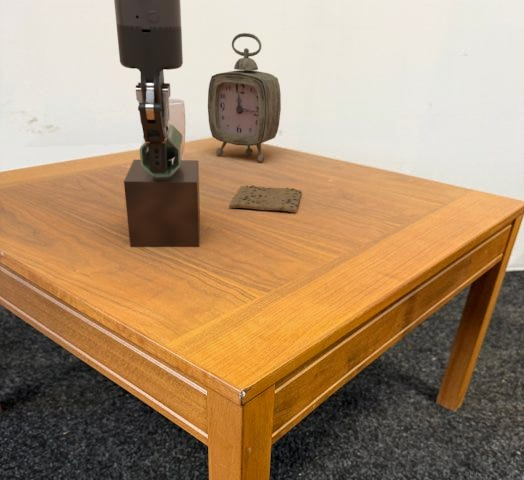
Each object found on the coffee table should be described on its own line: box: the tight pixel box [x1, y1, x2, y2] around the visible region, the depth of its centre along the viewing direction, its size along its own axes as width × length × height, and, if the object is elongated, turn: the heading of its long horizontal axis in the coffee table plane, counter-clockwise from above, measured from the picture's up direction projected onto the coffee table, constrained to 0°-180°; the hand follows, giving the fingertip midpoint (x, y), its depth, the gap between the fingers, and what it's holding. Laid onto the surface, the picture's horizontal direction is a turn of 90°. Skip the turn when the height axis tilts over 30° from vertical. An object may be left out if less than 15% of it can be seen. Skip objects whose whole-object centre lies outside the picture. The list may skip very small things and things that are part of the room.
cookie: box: [228, 185, 303, 214], centre depth 100 cm, size 12×12×1 cm
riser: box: [123, 159, 201, 247], centre depth 83 cm, size 10×12×10 cm
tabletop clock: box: [207, 32, 282, 163], centre depth 121 cm, size 14×9×25 cm, turn 64°
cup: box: [139, 124, 183, 178], centre depth 79 cm, size 9×6×6 cm, turn 5°
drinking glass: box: [168, 97, 186, 160], centre depth 103 cm, size 7×7×15 cm
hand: (158, 171), depth 74 cm, fingers closed
